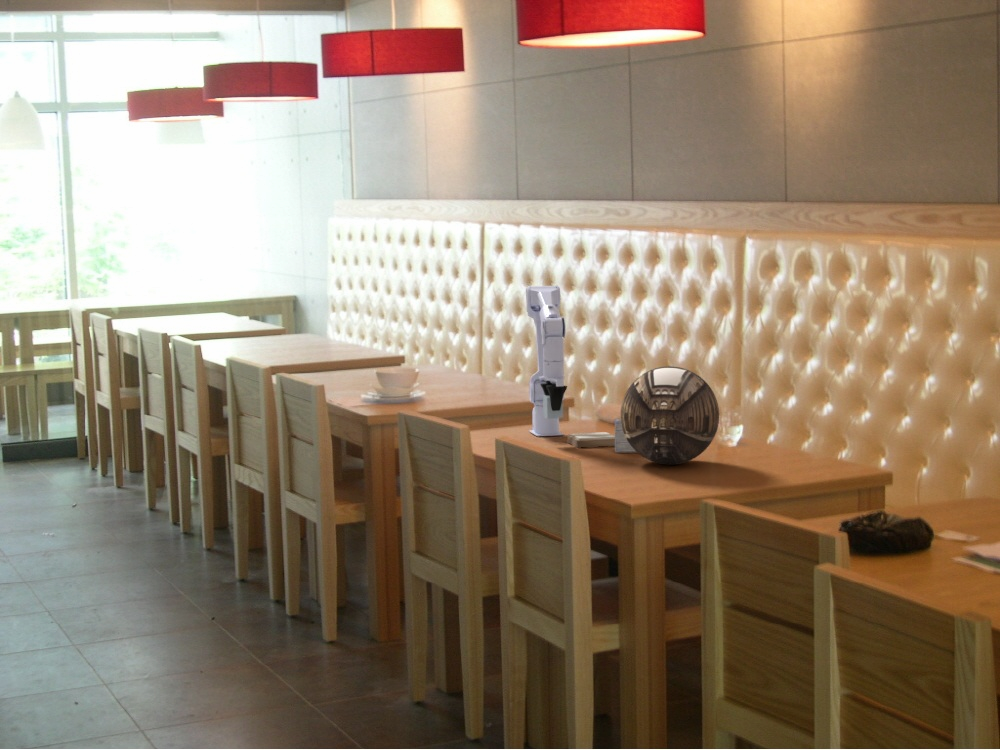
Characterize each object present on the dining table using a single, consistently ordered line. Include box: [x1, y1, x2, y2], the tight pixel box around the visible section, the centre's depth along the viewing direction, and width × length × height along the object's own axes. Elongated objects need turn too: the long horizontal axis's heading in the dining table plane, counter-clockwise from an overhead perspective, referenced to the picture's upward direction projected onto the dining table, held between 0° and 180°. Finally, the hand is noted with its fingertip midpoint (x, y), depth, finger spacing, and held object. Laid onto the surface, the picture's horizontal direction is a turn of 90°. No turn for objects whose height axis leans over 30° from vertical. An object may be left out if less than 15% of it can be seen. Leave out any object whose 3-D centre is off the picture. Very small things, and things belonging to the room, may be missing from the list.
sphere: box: [620, 365, 720, 466], centre depth 330 cm, size 25×25×25 cm
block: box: [543, 395, 564, 419], centre depth 362 cm, size 4×4×6 cm
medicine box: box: [614, 418, 637, 453], centre depth 350 cm, size 8×4×9 cm, turn 84°
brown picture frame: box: [567, 431, 615, 449], centre depth 362 cm, size 10×12×2 cm
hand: (553, 409), depth 362 cm, fingers closed on block, 4 cm apart
